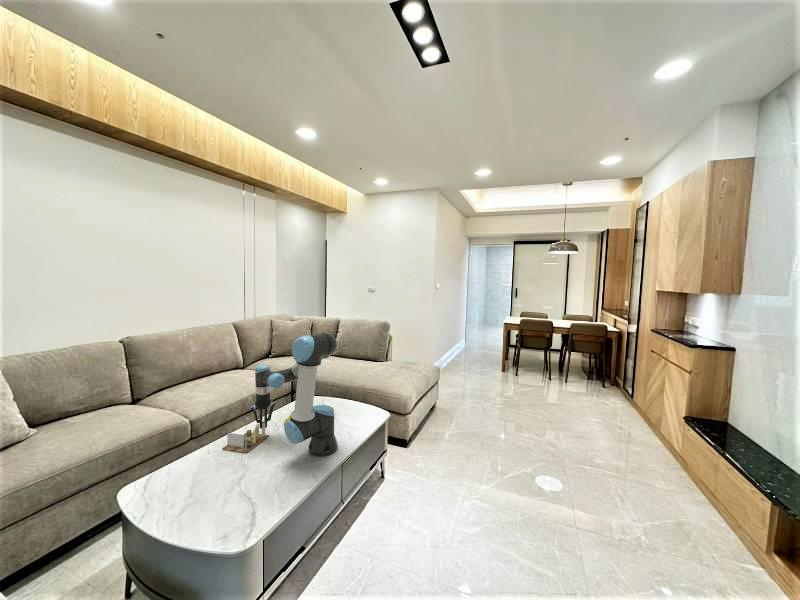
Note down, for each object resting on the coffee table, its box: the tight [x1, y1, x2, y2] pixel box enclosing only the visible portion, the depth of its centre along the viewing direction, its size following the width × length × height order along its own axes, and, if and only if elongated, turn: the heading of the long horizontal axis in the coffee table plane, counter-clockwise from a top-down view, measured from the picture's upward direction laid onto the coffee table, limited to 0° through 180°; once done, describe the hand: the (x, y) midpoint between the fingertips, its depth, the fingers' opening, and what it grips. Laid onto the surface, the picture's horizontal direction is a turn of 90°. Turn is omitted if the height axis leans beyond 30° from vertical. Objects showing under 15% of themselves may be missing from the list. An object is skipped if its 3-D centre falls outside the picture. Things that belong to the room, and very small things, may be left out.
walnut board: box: [221, 431, 270, 454], centre depth 180 cm, size 15×19×1 cm
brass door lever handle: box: [247, 423, 260, 445], centre depth 179 cm, size 12×4×7 cm, turn 13°
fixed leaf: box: [226, 429, 253, 449], centre depth 175 cm, size 12×4×9 cm, turn 77°
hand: (263, 433), depth 185 cm, fingers closed
